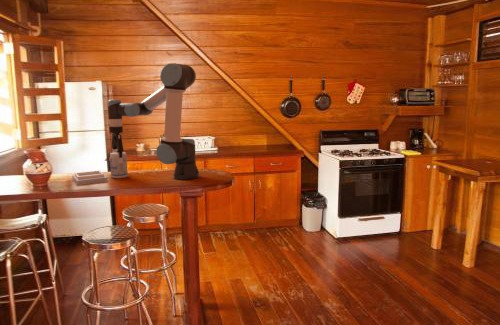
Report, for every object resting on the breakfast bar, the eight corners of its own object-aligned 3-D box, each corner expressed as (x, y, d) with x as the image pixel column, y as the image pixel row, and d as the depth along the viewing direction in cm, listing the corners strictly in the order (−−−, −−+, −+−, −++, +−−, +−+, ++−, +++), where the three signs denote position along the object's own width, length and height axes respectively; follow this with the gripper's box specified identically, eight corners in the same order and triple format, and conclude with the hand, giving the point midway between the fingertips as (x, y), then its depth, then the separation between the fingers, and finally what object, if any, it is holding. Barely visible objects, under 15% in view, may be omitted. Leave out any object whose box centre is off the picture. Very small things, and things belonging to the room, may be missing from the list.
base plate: (107, 181, 223) (107, 174, 222) (77, 185, 215) (76, 178, 214) (100, 176, 240) (100, 169, 239) (72, 179, 232) (72, 172, 231)
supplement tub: (107, 178, 233) (105, 153, 231) (118, 175, 242) (116, 151, 240) (120, 179, 230) (119, 154, 227) (131, 175, 238) (129, 152, 236)
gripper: (105, 125, 239) (107, 159, 243) (114, 127, 218) (116, 165, 222) (117, 124, 243) (119, 158, 247) (127, 127, 222) (129, 163, 226)
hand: (118, 161), depth 234 cm, fingers open, 13 cm apart
